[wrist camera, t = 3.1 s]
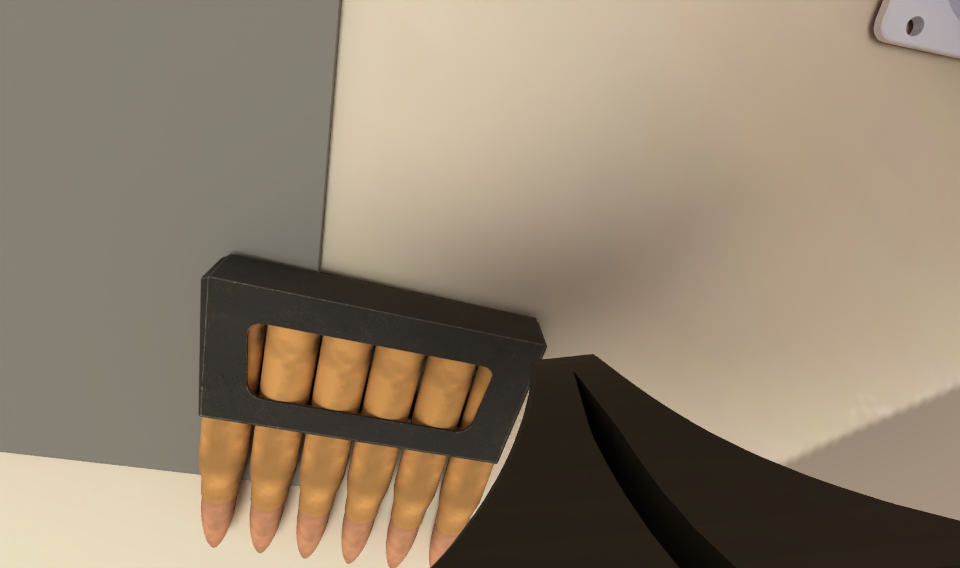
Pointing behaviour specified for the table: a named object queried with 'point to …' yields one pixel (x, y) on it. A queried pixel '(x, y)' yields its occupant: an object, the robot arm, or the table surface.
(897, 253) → the table surface
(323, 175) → the mat
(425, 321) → the ammunition clip
